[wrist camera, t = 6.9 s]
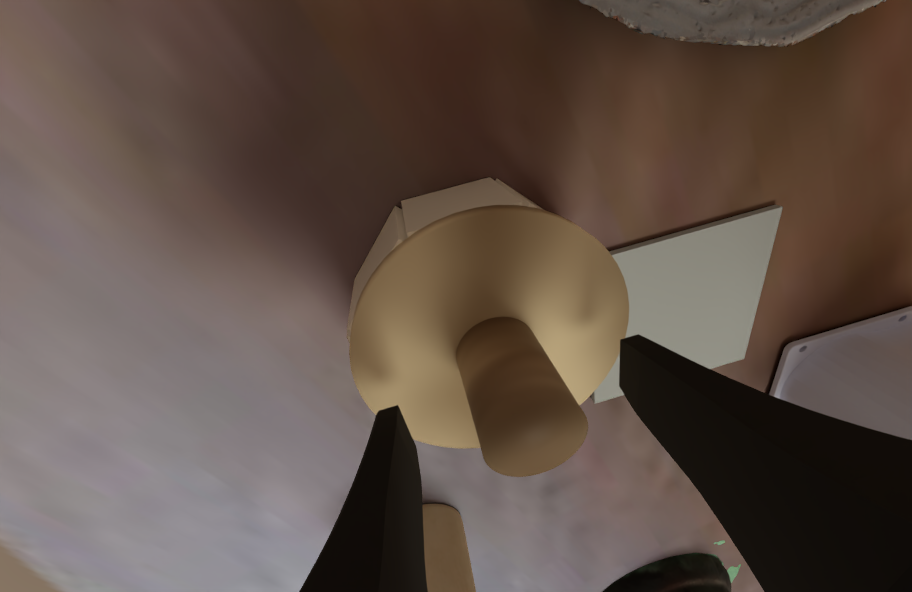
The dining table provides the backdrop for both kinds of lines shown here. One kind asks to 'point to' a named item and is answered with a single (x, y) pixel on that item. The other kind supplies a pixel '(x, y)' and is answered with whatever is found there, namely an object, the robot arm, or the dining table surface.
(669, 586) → the black rounded piece
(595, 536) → the dining table surface
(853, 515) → the robot arm
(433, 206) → the bowl
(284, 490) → the dining table surface
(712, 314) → the mat
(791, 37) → the food plate
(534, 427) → the lid
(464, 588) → the candle
